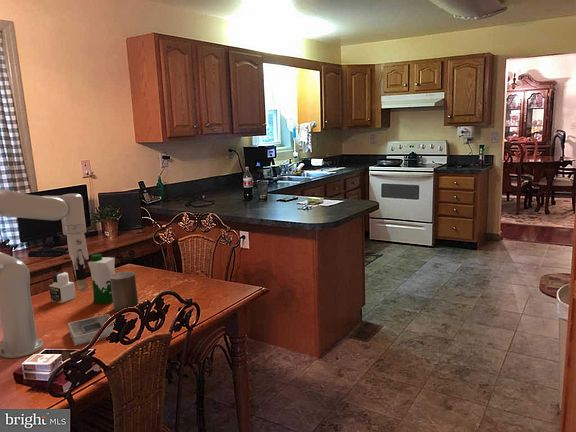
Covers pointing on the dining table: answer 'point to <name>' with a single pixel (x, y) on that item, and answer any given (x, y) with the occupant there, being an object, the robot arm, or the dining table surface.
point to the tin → (88, 329)
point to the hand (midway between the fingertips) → (80, 277)
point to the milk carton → (101, 277)
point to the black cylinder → (80, 283)
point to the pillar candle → (123, 290)
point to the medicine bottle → (61, 288)
